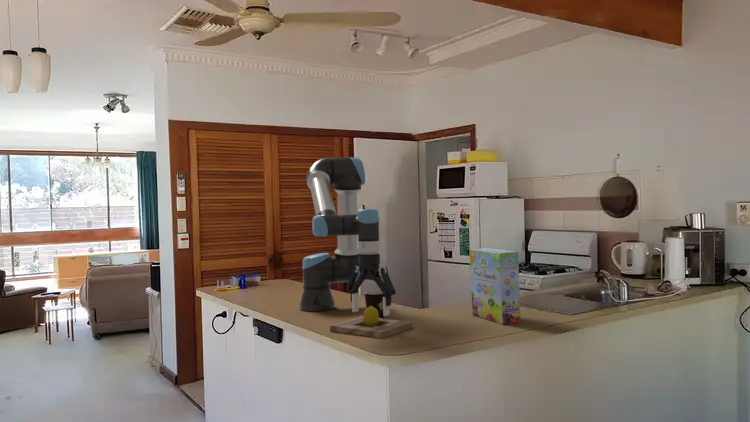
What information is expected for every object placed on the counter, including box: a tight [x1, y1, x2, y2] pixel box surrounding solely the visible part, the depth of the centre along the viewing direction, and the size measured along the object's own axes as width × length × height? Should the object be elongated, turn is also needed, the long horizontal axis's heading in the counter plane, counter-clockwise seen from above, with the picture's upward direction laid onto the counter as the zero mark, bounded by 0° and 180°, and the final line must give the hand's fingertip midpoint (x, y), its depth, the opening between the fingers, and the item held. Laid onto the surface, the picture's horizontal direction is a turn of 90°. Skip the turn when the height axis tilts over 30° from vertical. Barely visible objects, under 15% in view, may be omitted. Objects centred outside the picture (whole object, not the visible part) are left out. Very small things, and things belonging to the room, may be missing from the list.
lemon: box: [362, 306, 379, 327], centre depth 198 cm, size 6×6×8 cm
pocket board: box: [329, 315, 413, 339], centre depth 198 cm, size 22×19×2 cm
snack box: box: [469, 247, 522, 326], centre depth 210 cm, size 22×9×26 cm, turn 21°
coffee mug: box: [363, 290, 386, 319], centre depth 218 cm, size 12×9×10 cm
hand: (370, 313), depth 199 cm, fingers open, 13 cm apart
